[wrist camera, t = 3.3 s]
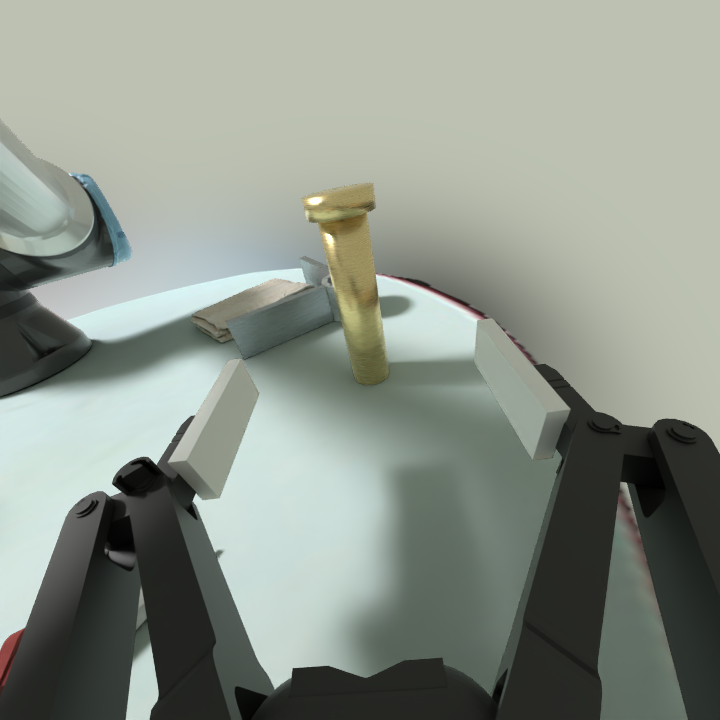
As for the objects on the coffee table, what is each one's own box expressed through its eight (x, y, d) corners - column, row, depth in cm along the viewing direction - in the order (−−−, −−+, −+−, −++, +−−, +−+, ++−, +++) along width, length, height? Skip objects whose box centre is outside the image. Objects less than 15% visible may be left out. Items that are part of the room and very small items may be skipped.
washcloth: (192, 330, 47) (182, 313, 45) (280, 287, 57) (275, 272, 55) (225, 349, 40) (214, 330, 38) (319, 296, 49) (315, 279, 47)
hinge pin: (338, 372, 30) (291, 198, 21) (377, 352, 32) (350, 183, 22) (363, 397, 26) (319, 200, 17) (406, 373, 28) (387, 181, 19)
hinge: (222, 316, 48) (208, 288, 45) (325, 278, 55) (319, 251, 52) (249, 369, 33) (231, 333, 31) (385, 308, 40) (381, 274, 37)
